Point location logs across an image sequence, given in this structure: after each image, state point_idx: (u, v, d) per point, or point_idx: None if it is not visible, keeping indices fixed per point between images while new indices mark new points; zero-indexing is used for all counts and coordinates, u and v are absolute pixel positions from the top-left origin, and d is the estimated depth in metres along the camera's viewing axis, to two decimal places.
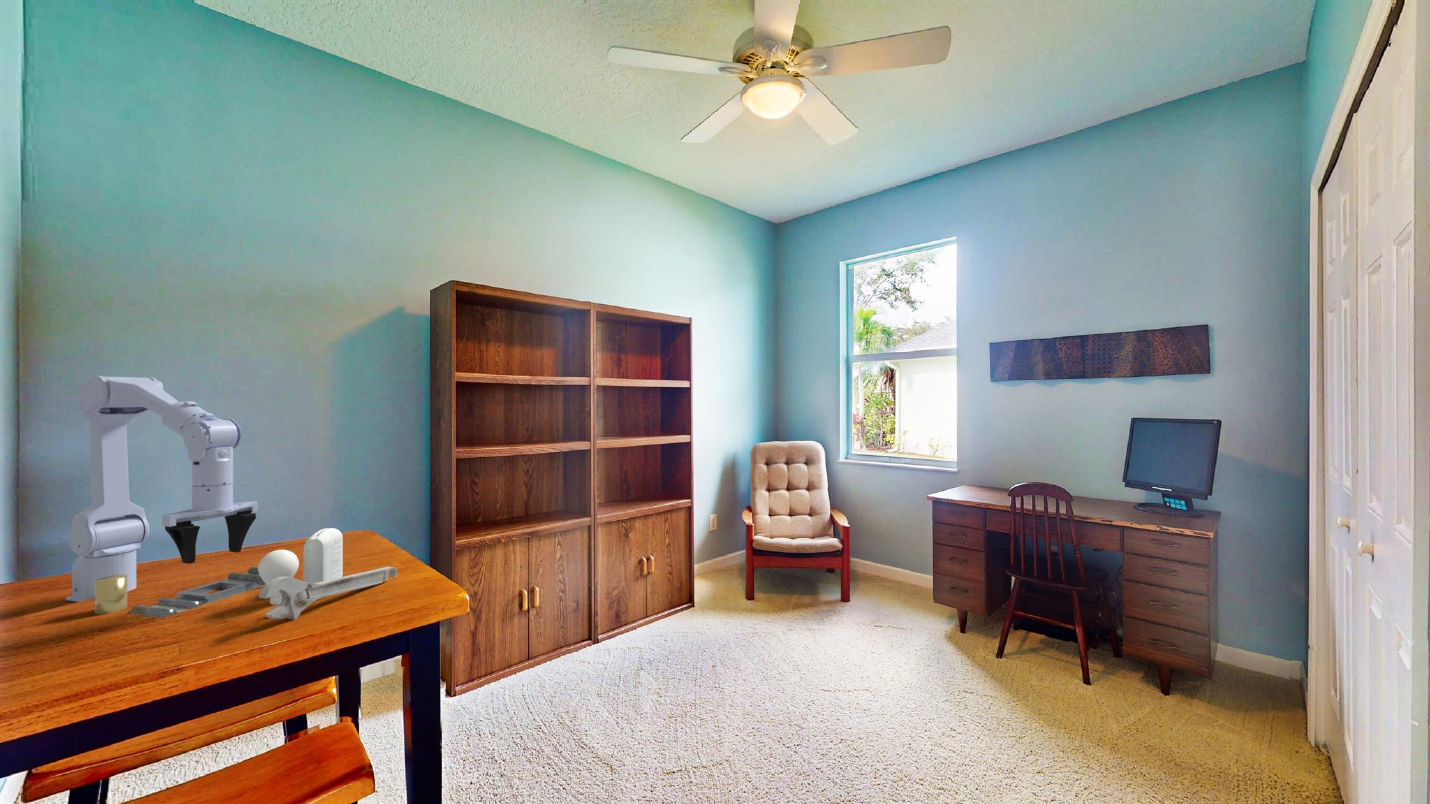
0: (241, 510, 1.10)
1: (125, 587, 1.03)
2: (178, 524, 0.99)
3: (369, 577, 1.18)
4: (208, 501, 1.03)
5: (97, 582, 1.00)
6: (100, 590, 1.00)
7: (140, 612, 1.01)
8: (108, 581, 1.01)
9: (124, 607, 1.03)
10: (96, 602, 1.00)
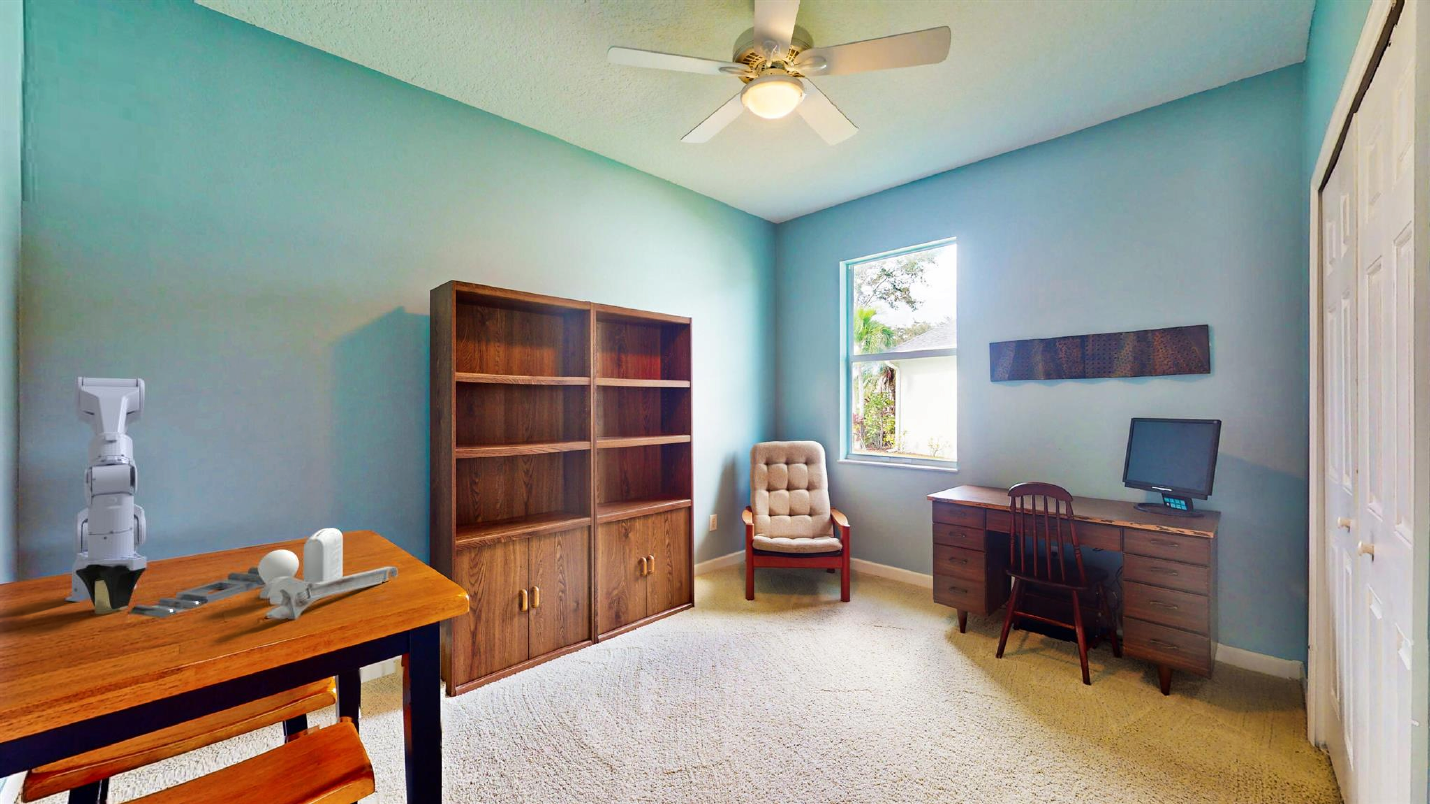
0: (127, 565, 1.01)
1: None
2: None
3: (370, 577, 1.18)
4: None
5: (97, 582, 1.00)
6: (100, 590, 1.00)
7: (140, 612, 1.01)
8: None
9: (124, 607, 1.03)
10: (96, 602, 1.00)
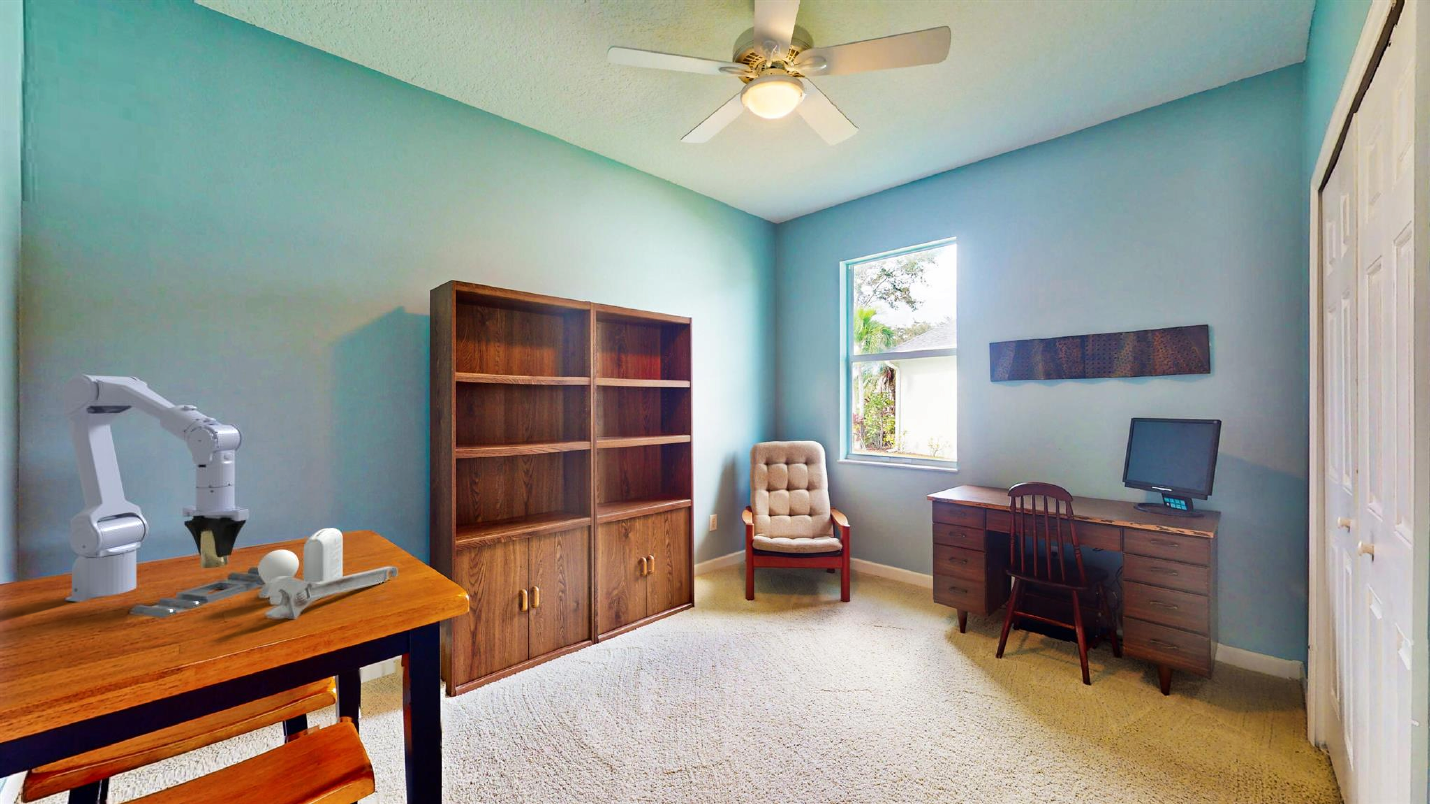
0: (232, 516, 1.09)
1: None
2: (188, 516, 1.11)
3: (370, 577, 1.18)
4: None
5: (203, 532, 1.09)
6: (205, 539, 1.08)
7: (140, 612, 1.01)
8: None
9: (225, 557, 1.11)
10: (202, 551, 1.09)
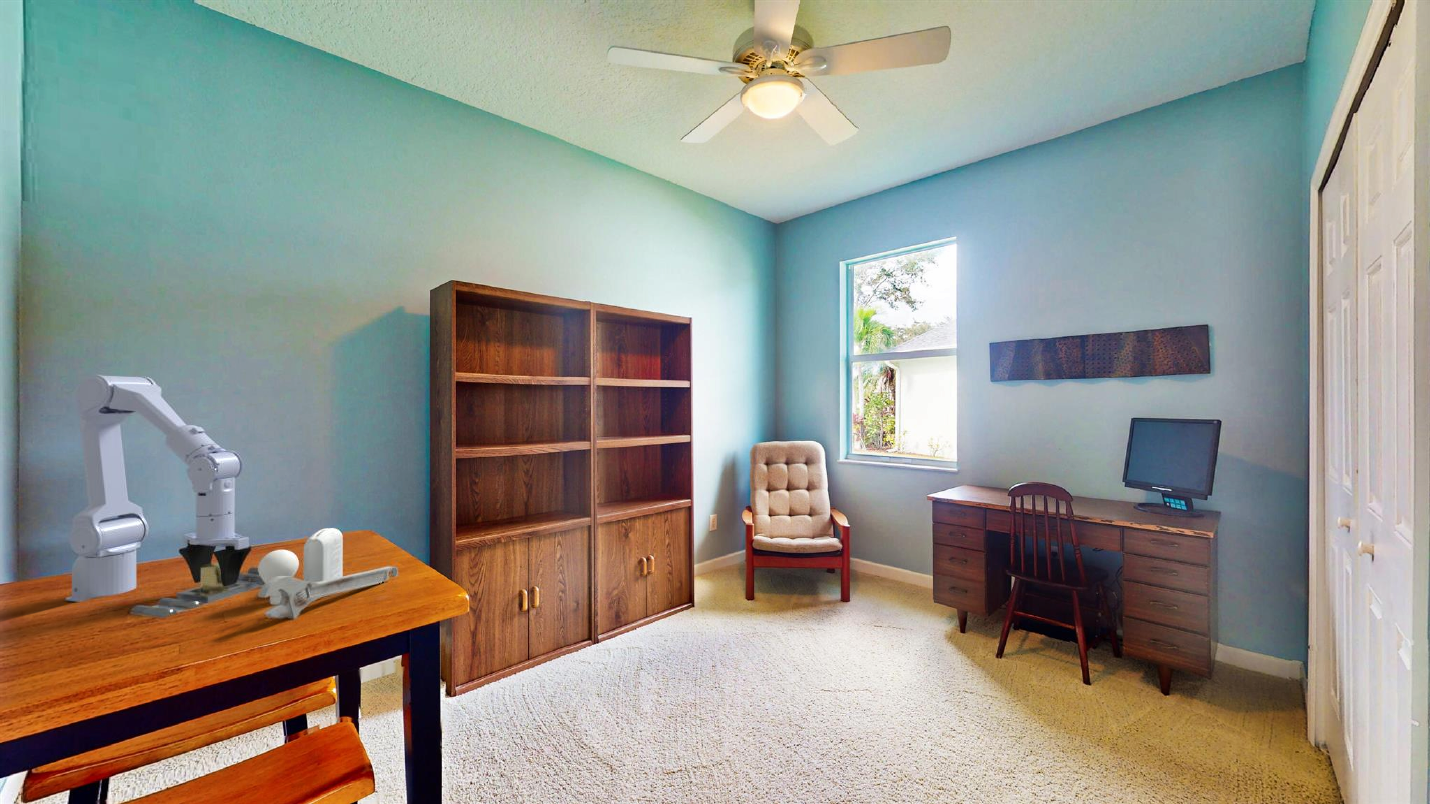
0: (232, 545, 1.09)
1: None
2: (188, 544, 1.11)
3: (370, 577, 1.18)
4: None
5: (203, 568, 1.09)
6: (205, 576, 1.09)
7: (140, 612, 1.01)
8: (212, 568, 1.09)
9: None
10: (202, 587, 1.09)
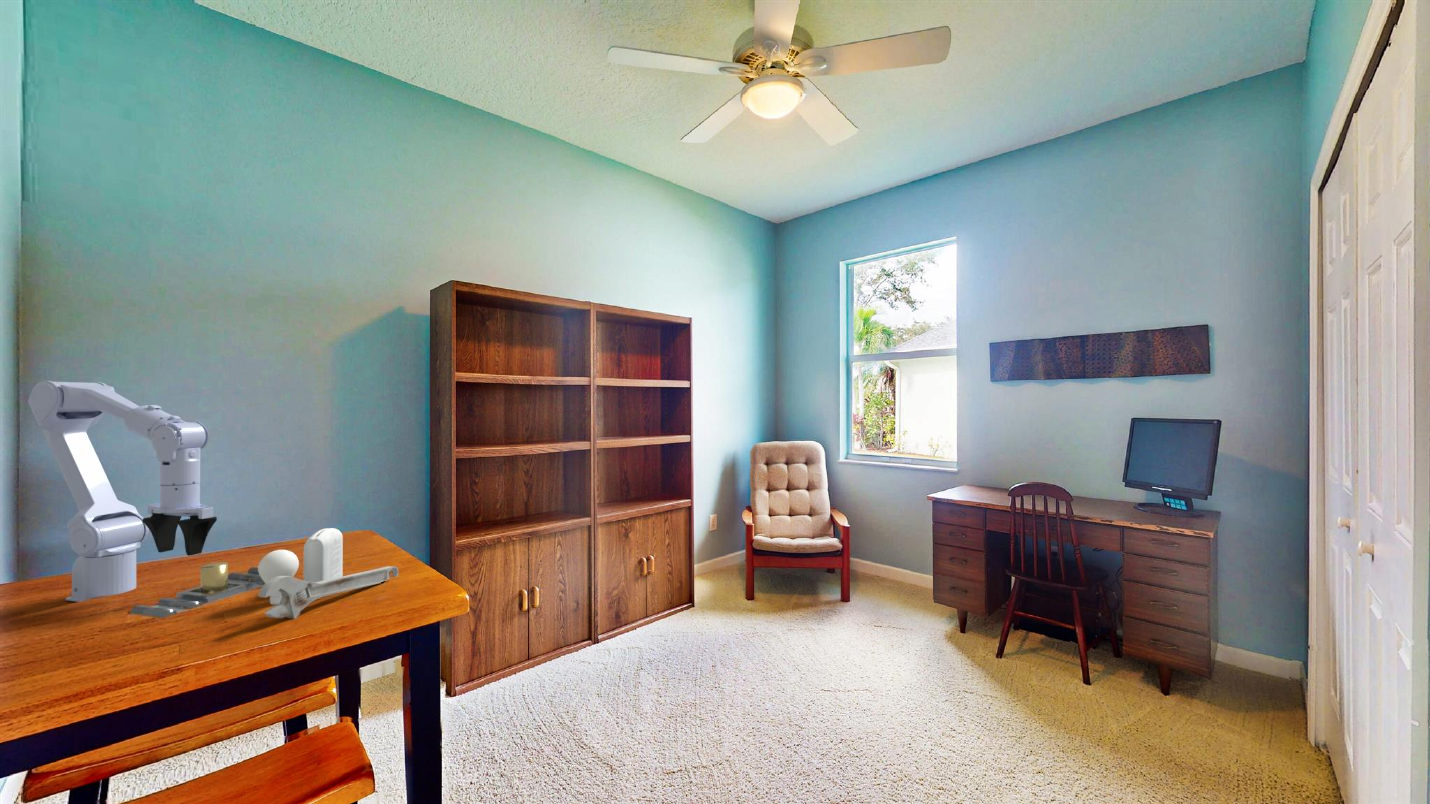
0: (196, 514, 1.09)
1: (226, 573, 1.11)
2: (153, 514, 1.11)
3: (370, 577, 1.18)
4: None
5: (203, 568, 1.09)
6: (205, 576, 1.09)
7: (140, 612, 1.01)
8: (212, 568, 1.09)
9: None
10: (202, 587, 1.09)
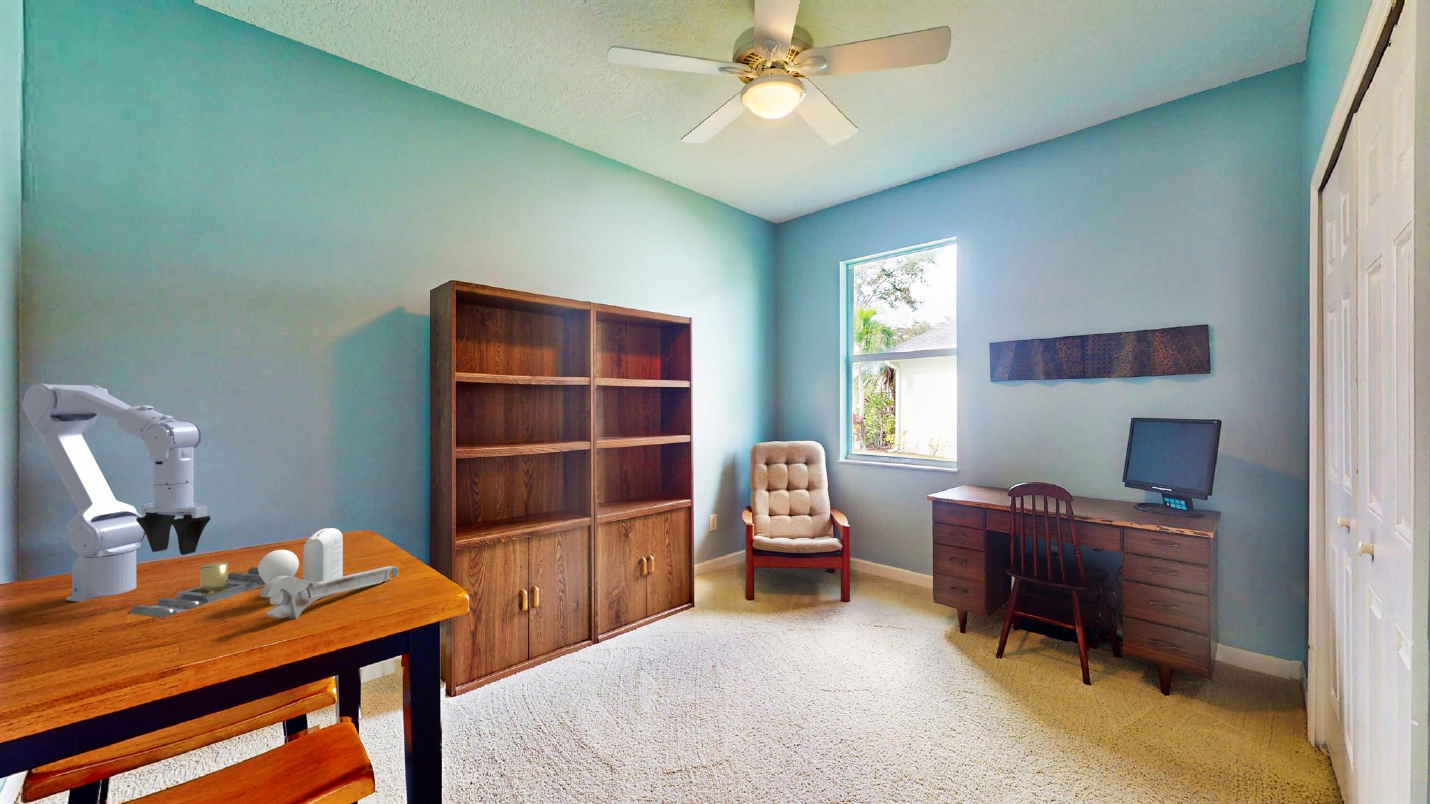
0: (189, 513, 1.09)
1: (226, 573, 1.11)
2: (146, 513, 1.11)
3: (371, 577, 1.18)
4: None
5: (203, 568, 1.09)
6: (205, 576, 1.09)
7: (140, 612, 1.01)
8: (212, 568, 1.09)
9: None
10: (202, 587, 1.09)
